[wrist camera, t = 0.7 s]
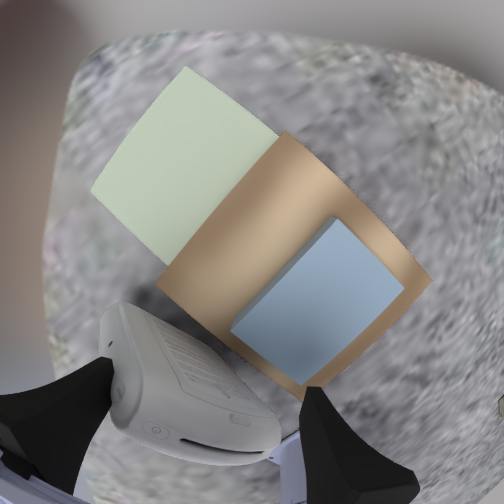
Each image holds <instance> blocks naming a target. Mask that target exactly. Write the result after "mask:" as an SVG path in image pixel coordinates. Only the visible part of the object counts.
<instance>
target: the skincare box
mask: <svg viewBox="0 0 504 504" xmlns="http://www.w3.org/2000/svg"><path fill="white" fill-rule="evenodd" d="M499 409H500V416H501V417H502V419H503V420H504V397H503V398H501V399H500V400H499Z"/></svg>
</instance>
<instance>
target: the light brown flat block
mask: <svg viewBox="0 0 504 504" xmlns="http://www.w3.org/2000/svg"><path fill="white" fill-rule="evenodd" d="M331 216H333V217H335V218H337V219H339V220H340V221H341V222H342V223H343V224H344V225H345V226H346V227H347V228H348V229H349V230H350V231H351V232H352V233H353V234H354V235H355V236H356V237H357V238H358V239H359V240H360V241H361V242H362V243H363V244H364V245H365V246H366V247H367V248H368V250H369V251H370V252H371V253H372V254H373V255H374V256H375V257H376V258H377V259H378V260H379V261H380V262H381V263H382V264H383V265H384V266H385V267H386V268H387V269H388V271H389V272H390V273H391V274H392V275H393V276H394V277H395V278H396V279H397V280H398V281H399V283H400V284H401V285H402V286H403V287H404V288H405V289H404V290H403V291H402V292H401V293H400V294H399V295H398V296H397V297H396V298H395V299H394V300H393V301H392V302H391V303H390V305H389V306H388V307H387V308H386V309H385V310H384V311H383V312H382V313H381V314H380V315H379V316H378V317H377V318H376V319H375V320H374V321H373V322H372V323H371V324H370V325H369V326H368V327H367V328H366V329H365V330H364V331H363V332H361V333H360V334H359V335H358V336H357V337H356V338H355V339H354V340H353V341H352V342H351V343H350V344H349V345H348V346H347V347H345V348H344V349H343V350H342V351H341V352H340V353H339V354H338V355H337V356H335V357H334V358H333V359H332V360H331V361H330V362H329V363H327V364H326V365H325V366H324V367H323V368H322V369H320V370H319V371H318V372H317V373H316V374H315V375H313V376H312V377H311V378H310V379H309V380H307V381H306V382H305V383H304V384H302V385H299V384H298V383H297V382H295V381H294V380H292V379H291V378H290V377H288V376H287V375H286V374H284V373H283V372H282V371H280V370H279V369H278V368H276V367H275V366H274V365H272V364H271V363H270V362H268V361H267V360H266V359H265V358H263V357H262V356H261V355H259V354H258V353H257V352H256V351H254V350H253V349H252V348H250V347H249V346H248V345H247V344H245V343H244V342H243V341H242V340H240V339H239V338H238V337H237V336H235V335H234V334H233V333H232V332H231V331H230V330H231V327H232V324H233V321H234V318H235V317H236V316H237V315H238V314H239V313H240V312H241V311H242V310H243V309H244V308H245V307H246V306H247V305H248V304H249V303H250V302H251V300H252V299H253V298H254V297H255V296H256V295H257V294H258V293H259V292H260V291H261V290H262V289H263V288H264V287H265V286H266V285H267V284H268V283H269V282H270V281H271V280H272V279H273V278H274V277H275V276H276V274H277V273H278V272H279V271H280V270H281V269H282V268H283V267H284V266H285V265H286V264H287V263H288V262H289V261H290V260H291V259H292V258H293V257H294V255H295V254H296V253H297V252H298V251H299V250H300V249H301V248H302V247H303V246H304V245H305V244H306V243H307V242H308V240H309V239H310V238H311V237H312V236H313V235H314V234H315V233H316V232H317V231H318V230H319V229H320V227H321V226H322V225H323V224H324V223H325V222H326V221H327V220H328V219H329V218H330V217H331ZM432 281H433V280H432V279H431V278H430V277H429V275H428V274H427V273H426V272H425V271H424V269H423V268H422V267H421V266H420V265H419V263H418V262H417V261H416V260H415V259H414V257H413V256H412V255H411V254H410V253H409V252H408V250H407V249H406V248H405V247H404V246H403V245H402V244H401V242H400V241H399V240H398V239H397V238H396V237H395V236H394V235H393V234H392V232H391V231H390V230H389V229H388V228H387V227H386V226H385V225H384V224H383V223H382V222H381V221H380V219H379V218H378V217H377V216H376V215H375V214H374V213H373V212H372V211H371V210H370V209H369V208H368V207H367V206H366V205H365V204H364V203H363V202H362V201H361V200H360V199H359V198H358V197H357V196H356V195H355V194H354V193H353V192H352V191H351V190H350V189H349V188H348V187H347V186H346V185H345V184H344V183H343V182H342V181H341V180H340V179H339V178H338V177H337V176H336V175H335V174H334V173H333V172H332V171H330V170H329V169H328V168H327V167H326V166H325V165H324V164H323V163H322V162H321V161H320V160H319V159H317V158H316V157H315V156H314V155H313V154H312V153H311V152H310V151H309V150H307V149H306V148H305V147H304V146H303V145H302V144H301V143H299V142H298V141H297V140H296V139H295V138H294V137H292V136H291V135H290V134H289V133H288V132H287V131H284V132H283V133H282V135H281V136H280V137H279V138H278V139H277V140H276V141H275V142H274V143H273V144H272V145H271V146H270V147H269V149H268V150H267V151H266V152H265V153H264V154H263V155H262V156H261V157H260V158H259V160H258V161H257V162H256V163H255V164H254V165H253V166H252V167H251V168H250V170H249V171H248V172H247V173H246V174H245V175H244V176H243V178H242V179H241V180H240V181H239V182H238V183H237V184H236V185H235V187H234V188H233V189H232V190H231V191H230V192H229V194H228V195H227V196H226V197H225V198H224V199H223V201H222V202H221V203H220V204H219V205H218V206H217V208H216V209H215V210H214V211H213V212H212V213H211V215H210V216H209V217H208V218H207V219H206V221H205V222H204V223H203V224H202V225H201V227H200V228H199V229H198V230H197V231H196V233H195V234H194V235H193V236H192V237H191V239H190V240H189V241H188V242H187V244H186V245H185V246H184V247H183V248H182V250H181V251H180V252H179V253H178V255H177V256H176V257H175V258H174V260H173V261H172V262H171V263H170V265H169V266H168V267H167V268H166V270H165V271H164V272H163V274H162V275H161V276H160V277H159V279H158V280H157V281H156V283H155V285H156V286H158V287H159V288H160V289H161V290H162V291H163V292H164V293H165V294H166V295H168V296H169V297H170V298H171V299H172V300H173V301H174V302H175V303H177V304H178V305H179V306H180V307H181V308H182V309H183V310H185V311H186V312H187V313H188V314H189V315H190V316H192V317H193V318H194V319H195V320H196V321H198V322H199V323H200V324H201V325H202V326H203V327H205V328H206V329H207V330H208V331H210V332H211V333H212V334H213V335H214V336H216V337H217V338H218V339H219V340H221V341H222V342H223V343H224V344H226V345H227V346H228V347H229V348H231V349H232V350H233V351H234V352H236V353H237V354H238V355H240V356H241V357H242V358H243V359H245V360H246V361H247V362H249V363H250V364H251V365H253V366H254V367H255V368H257V369H258V370H259V371H261V372H262V373H263V374H265V375H266V376H267V377H269V378H270V379H271V380H273V381H274V382H275V383H277V384H278V385H280V386H281V387H282V388H284V389H285V390H287V391H288V392H289V393H291V394H292V395H294V396H295V397H297V398H298V399H299V400H301V401H302V402H303V400H304V396H305V393H306V389H307V386H317V387H321V388H322V387H323V386H325V385H326V384H327V383H328V382H329V381H331V380H332V379H333V378H334V377H335V376H337V375H338V374H339V373H340V372H341V371H342V370H344V369H345V368H346V367H347V366H348V365H349V364H351V363H352V362H353V361H354V360H355V359H356V358H357V357H358V356H360V355H361V354H362V353H363V352H364V351H365V350H366V349H367V348H368V347H369V346H370V345H371V344H373V343H374V342H375V341H376V340H377V339H378V338H379V337H380V336H381V335H382V334H383V333H384V332H385V331H386V330H387V329H388V328H389V327H390V326H391V325H392V324H393V323H394V322H395V321H396V320H397V319H398V318H399V317H400V316H401V315H402V314H403V313H404V312H405V311H406V310H407V309H408V307H409V306H410V305H411V304H412V303H413V302H414V301H415V300H416V299H417V298H418V297H419V296H420V294H421V293H422V292H423V291H424V290H425V289H426V288H427V287H428V285H429V284H430V283H431V282H432Z"/></svg>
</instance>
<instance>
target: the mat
mask: <svg viewBox="0 0 504 504" xmlns="http://www.w3.org/2000/svg"><path fill="white" fill-rule="evenodd" d="M278 138H279V136H278V135H277V134H276V133H274V132H273V131H272V130H271V129H270V128H268V127H267V126H266V125H265V124H264V123H262V122H261V121H260V120H259V119H257V118H256V117H255V116H254V115H252V114H251V113H250V112H248V111H247V110H246V109H245V108H243V107H242V106H241V105H239V104H238V103H237V102H236V101H234V100H233V99H232V98H230V97H229V96H228V95H226V94H225V93H224V92H222V91H221V90H219V89H218V88H217V87H215V86H214V85H213V84H211V83H210V82H208V81H207V80H206V79H204V78H203V77H201V76H200V75H198V74H197V73H196V72H194V71H193V70H191V69H190V68H188V67H187V66H185V68H184V69H183V70H182V71H181V72H180V73H179V74H178V75H177V76H176V77H175V78H174V79H173V81H172V82H171V83H170V84H169V85H168V86H167V87H166V88H165V90H164V91H163V92H162V93H161V94H160V95H159V97H158V98H157V99H156V100H155V101H154V102H153V104H152V105H151V106H150V107H149V108H148V110H147V111H146V112H145V113H144V115H143V116H142V117H141V118H140V120H139V121H138V122H137V124H136V125H135V126H134V127H133V129H132V130H131V131H130V133H129V134H128V135H127V137H126V138H125V140H124V141H123V142H122V144H121V145H120V146H119V148H118V149H117V151H116V152H115V153H114V155H113V156H112V158H111V159H110V161H109V162H108V164H107V165H106V167H105V168H104V170H103V171H102V173H101V174H100V176H99V177H98V179H97V180H96V182H95V184H94V185H93V187H92V188H91V190H90V191H91V192H92V193H93V194H94V195H95V197H96V198H97V199H98V200H99V201H100V202H101V203H102V204H103V205H104V206H105V207H106V208H107V209H108V210H109V211H110V212H111V213H112V214H113V215H114V216H115V217H116V218H117V219H119V220H120V221H121V222H122V223H123V224H124V225H125V226H126V227H127V228H128V229H129V230H130V231H131V232H132V233H133V234H134V235H135V236H136V237H137V238H138V239H139V240H140V241H141V242H142V243H143V244H145V245H146V246H147V247H148V248H149V249H150V250H151V251H152V252H153V253H154V254H155V255H156V256H157V257H159V258H160V259H161V260H162V261H163V262H164V263H165V264H166V265H167V266H169V265H170V263H171V262H172V261H173V260H174V258H175V257H176V256H177V255H178V253H179V252H180V251H181V250H182V248H183V247H184V246H185V245H186V244H187V242H188V241H189V240H190V239H191V237H192V236H193V235H194V234H195V233H196V231H197V230H198V229H199V228H200V227H201V225H202V224H203V223H204V222H205V221H206V219H207V218H208V217H209V216H210V215H211V213H212V212H213V211H214V210H215V209H216V208H217V206H218V205H219V204H220V203H221V202H222V201H223V199H224V198H225V197H226V196H227V195H228V194H229V192H230V191H231V190H232V189H233V188H234V187H235V185H236V184H237V183H238V182H239V181H240V180H241V179H242V178H243V176H244V175H245V174H246V173H247V172H248V171H249V170H250V168H251V167H252V166H253V165H254V164H255V163H256V162H257V161H258V160H259V158H260V157H261V156H262V155H263V154H264V153H265V152H266V151H267V150H268V149H269V147H270V146H271V145H272V144H273V143H274V142H275V141H276V140H277V139H278Z"/></svg>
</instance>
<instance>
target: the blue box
mask: <svg viewBox="0 0 504 504" xmlns="http://www.w3.org/2000/svg"><path fill="white" fill-rule="evenodd" d="M404 289H405V288H404V287H403V286H402V285H401V284H400V283H399V281H398V280H397V279H396V278H395V277H394V276H393V275H392V274H391V273H390V272H389V271H388V269H387V268H386V267H385V266H384V265H383V264H382V263H381V262H380V261H379V260H378V259H377V258H376V257H375V256H374V255H373V254H372V253H371V252H370V251H369V250H368V248H367V247H366V246H365V245H364V244H363V243H362V242H361V241H360V240H359V239H358V238H357V237H356V236H355V235H354V234H353V233H352V232H351V231H350V230H349V229H348V228H347V227H346V226H345V225H344V224H343V223H342V222H341V221H340V220H339V219H337V218H335V217H333V216H331V217H330V218H329V219H328V220H327V221H326V222H325V223H324V224H323V225H322V226H321V227H320V229H319V230H318V231H317V232H316V233H315V234H314V235H313V236H312V237H311V238H310V239H309V240H308V242H307V243H306V244H305V245H304V246H303V247H302V248H301V249H300V250H299V251H298V252H297V253H296V254H295V255H294V257H293V258H292V259H291V260H290V261H289V262H288V263H287V264H286V265H285V266H284V267H283V268H282V269H281V270H280V271H279V272H278V273H277V274H276V276H275V277H274V278H273V279H272V280H271V281H270V282H269V283H268V284H267V285H266V286H265V287H264V288H263V289H262V290H261V291H260V292H259V293H258V294H257V295H256V296H255V297H254V298H253V299H252V300H251V302H250V303H249V304H248V305H247V306H246V307H245V308H244V309H243V310H242V311H241V312H240V313H239V314H238V315H237V316H236V317H235V318H234V321H233V324H232V327H231V330H230V331H231V332H232V333H233V334H234V335H235V336H237V337H238V338H239V339H240V340H242V341H243V342H244V343H245V344H247V345H248V346H249V347H250V348H252V349H253V350H254V351H256V352H257V353H258V354H259V355H261V356H262V357H263V358H265V359H266V360H267V361H268V362H270V363H271V364H272V365H274V366H275V367H276V368H278V369H279V370H280V371H282V372H283V373H284V374H286V375H287V376H288V377H290V378H291V379H292V380H294V381H295V382H297V383H298V384H299V385H302V384H304V383H305V382H306V381H307V380H309V379H310V378H311V377H312V376H313V375H315V374H316V373H317V372H318V371H319V370H320V369H322V368H323V367H324V366H325V365H326V364H327V363H329V362H330V361H331V360H332V359H333V358H334V357H335V356H337V355H338V354H339V353H340V352H341V351H342V350H343V349H344V348H345V347H347V346H348V345H349V344H350V343H351V342H352V341H353V340H354V339H355V338H356V337H357V336H358V335H359V334H360V333H361V332H363V331H364V330H365V329H366V328H367V327H368V326H369V325H370V324H371V323H372V322H373V321H374V320H375V319H376V318H377V317H378V316H379V315H380V314H381V313H382V312H383V311H384V310H385V309H386V308H387V307H388V306H389V305H390V303H391V302H392V301H393V300H394V299H395V298H396V297H397V296H398V295H399V294H400V293H401V292H402V291H403V290H404Z"/></svg>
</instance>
